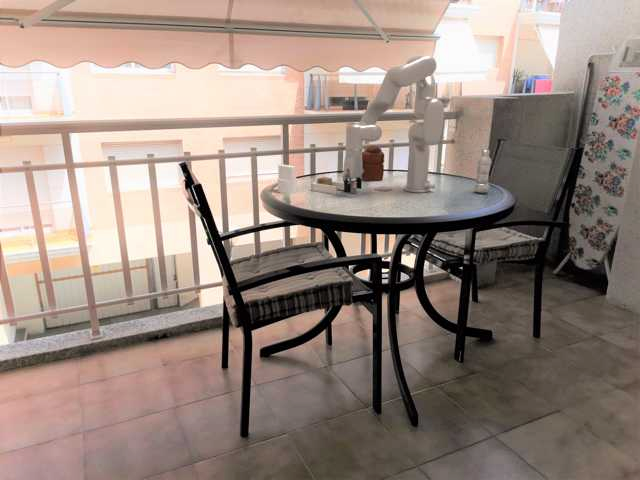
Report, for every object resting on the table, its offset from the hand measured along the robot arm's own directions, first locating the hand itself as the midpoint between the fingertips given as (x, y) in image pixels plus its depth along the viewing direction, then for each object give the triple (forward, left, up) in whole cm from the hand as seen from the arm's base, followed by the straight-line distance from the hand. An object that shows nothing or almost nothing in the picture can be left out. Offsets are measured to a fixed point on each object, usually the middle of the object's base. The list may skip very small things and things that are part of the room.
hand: (352, 190), depth 217 cm
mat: (+1, 0, -2) cm, 2 cm away
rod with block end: (+8, 0, -1) cm, 8 cm away
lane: (+13, 0, -2) cm, 13 cm away
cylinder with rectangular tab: (+28, +13, -2) cm, 31 cm away
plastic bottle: (-47, -38, -2) cm, 60 cm away
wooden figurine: (+9, -34, -2) cm, 35 cm away
